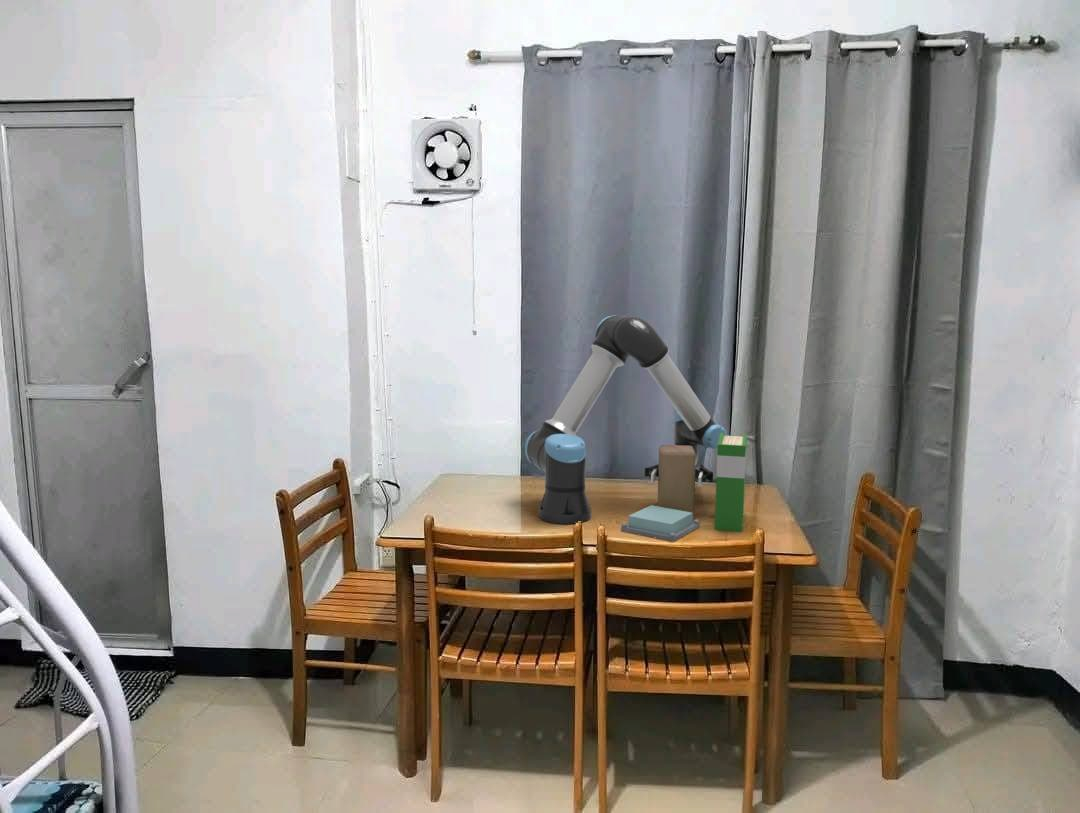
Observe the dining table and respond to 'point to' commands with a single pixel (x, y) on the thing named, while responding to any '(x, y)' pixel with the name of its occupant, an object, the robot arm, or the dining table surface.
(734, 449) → the hardback book
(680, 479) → the wooden block
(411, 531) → the dining table surface
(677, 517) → the base plate
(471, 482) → the dining table surface
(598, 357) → the robot arm
